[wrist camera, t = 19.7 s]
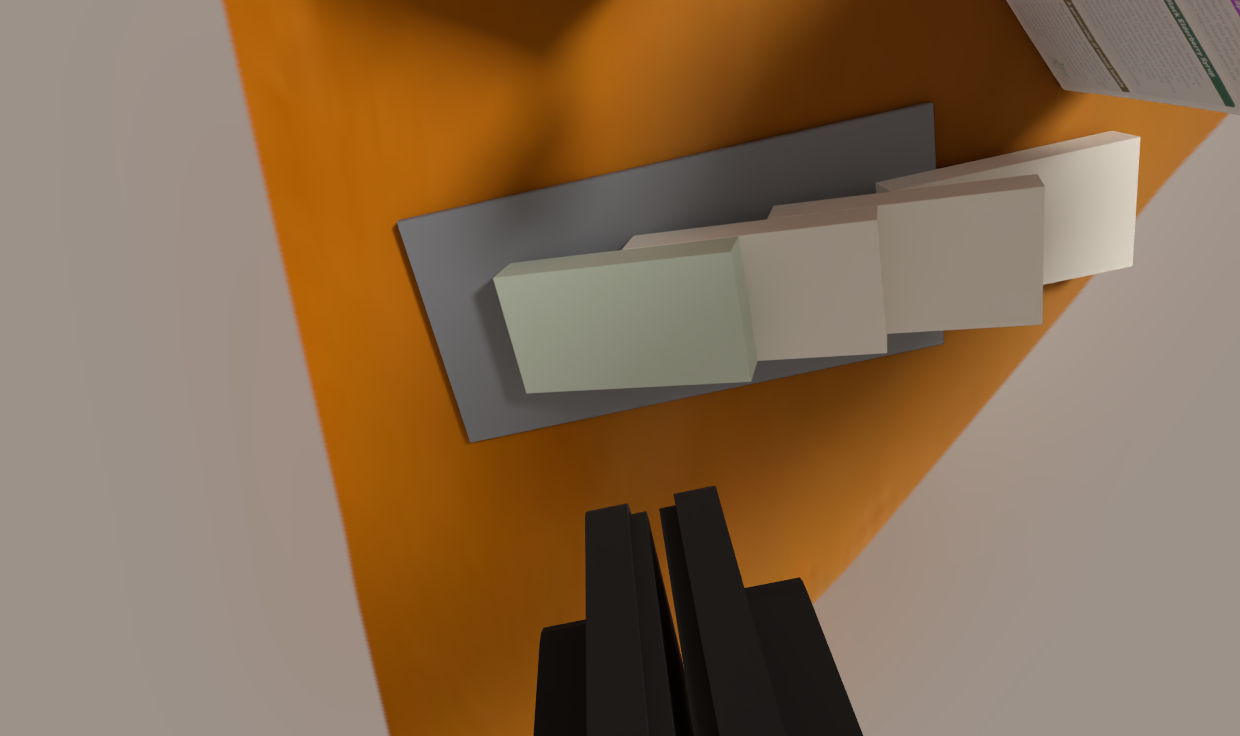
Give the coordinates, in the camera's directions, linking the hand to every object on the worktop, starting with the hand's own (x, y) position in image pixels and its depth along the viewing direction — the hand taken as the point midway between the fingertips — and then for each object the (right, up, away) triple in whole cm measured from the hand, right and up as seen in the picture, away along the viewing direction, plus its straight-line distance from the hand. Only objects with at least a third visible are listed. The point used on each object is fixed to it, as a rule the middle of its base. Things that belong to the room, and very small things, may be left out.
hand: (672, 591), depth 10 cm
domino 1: (-6, +5, +28) cm, 29 cm away
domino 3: (+7, +7, +27) cm, 29 cm away
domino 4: (+12, +8, +27) cm, 31 cm away
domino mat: (+2, +7, +29) cm, 30 cm away
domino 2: (0, +6, +28) cm, 28 cm away
